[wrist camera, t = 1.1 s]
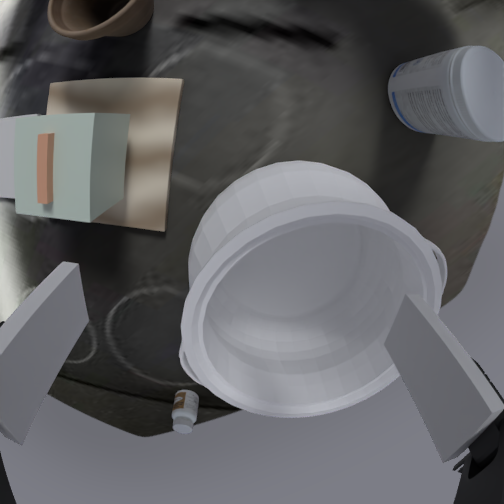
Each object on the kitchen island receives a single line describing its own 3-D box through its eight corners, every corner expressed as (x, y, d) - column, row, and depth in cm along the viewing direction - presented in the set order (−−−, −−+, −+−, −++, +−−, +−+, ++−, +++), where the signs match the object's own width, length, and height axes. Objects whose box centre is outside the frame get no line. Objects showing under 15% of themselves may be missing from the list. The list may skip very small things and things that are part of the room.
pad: (-11, 120, 27) (-14, 120, 26) (40, 113, 28) (37, 114, 27) (-11, 194, 32) (-14, 196, 31) (38, 198, 33) (35, 200, 32)
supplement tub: (441, 137, 31) (519, 155, 18) (383, 125, 31) (459, 134, 18) (442, 71, 27) (519, 65, 14) (384, 53, 27) (456, 28, 14)
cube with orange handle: (60, 115, 25) (9, 118, 17) (130, 114, 26) (89, 112, 18) (57, 191, 29) (10, 216, 20) (123, 198, 30) (84, 226, 21)
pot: (241, 349, 44) (243, 443, 29) (157, 210, 35) (100, 277, 19) (395, 287, 41) (452, 361, 25) (351, 125, 31) (435, 133, 16)
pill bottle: (180, 385, 48) (174, 420, 40) (202, 393, 49) (199, 428, 41) (172, 397, 49) (166, 430, 42) (193, 405, 50) (190, 437, 43)
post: (55, 83, 27) (1, 79, 16) (184, 80, 28) (159, 61, 18) (49, 213, 34) (2, 244, 24) (166, 228, 36) (140, 269, 26)
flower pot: (74, 22, 23) (31, 3, 14) (142, -34, 21) (116, -70, 11) (115, 72, 27) (73, 59, 18) (191, 12, 25) (174, -24, 16)
